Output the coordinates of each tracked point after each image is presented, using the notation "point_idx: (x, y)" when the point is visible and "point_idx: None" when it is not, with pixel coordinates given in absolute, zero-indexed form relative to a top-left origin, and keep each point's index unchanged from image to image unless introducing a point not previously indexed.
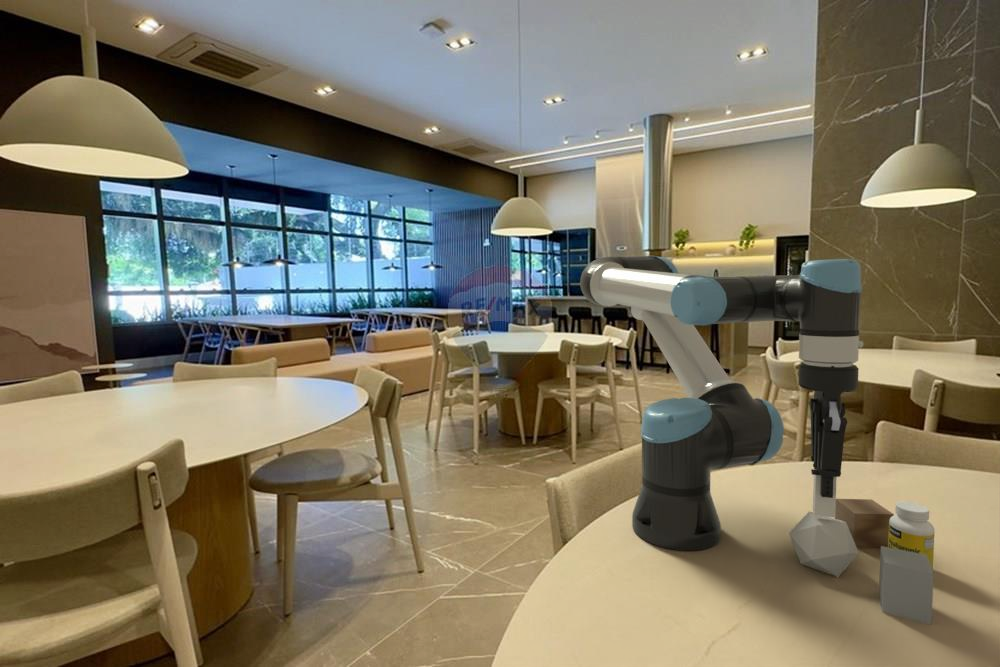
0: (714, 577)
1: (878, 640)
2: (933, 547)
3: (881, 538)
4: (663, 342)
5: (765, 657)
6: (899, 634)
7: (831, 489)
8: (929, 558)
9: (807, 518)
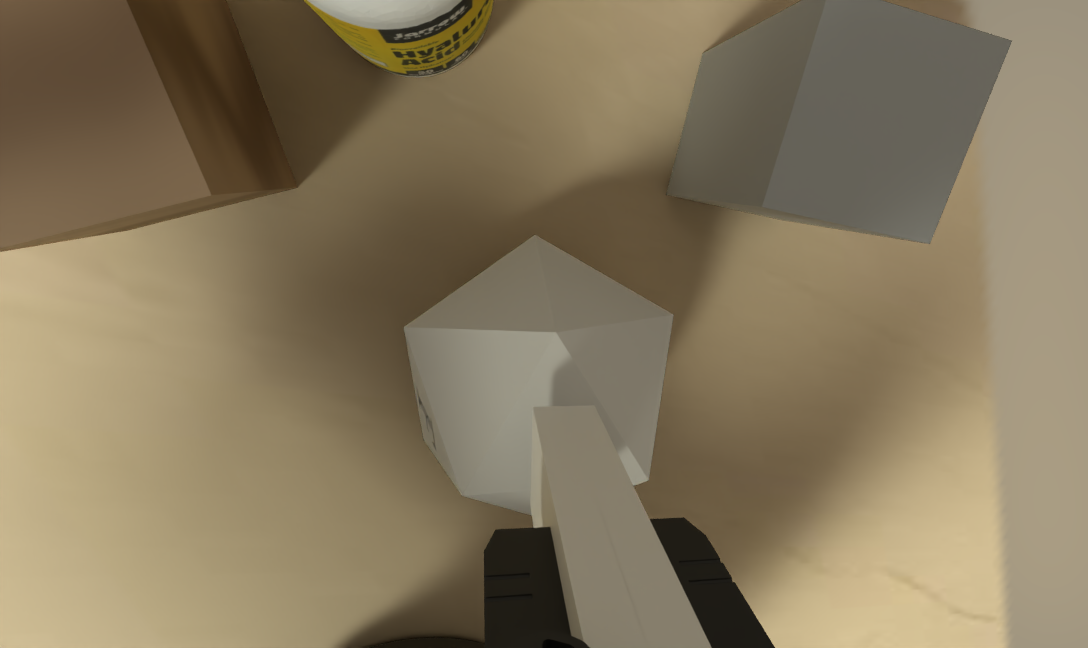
0: None
1: (918, 273)
2: None
3: (219, 43)
4: None
5: (996, 523)
6: None
7: (727, 584)
8: None
9: (525, 497)
